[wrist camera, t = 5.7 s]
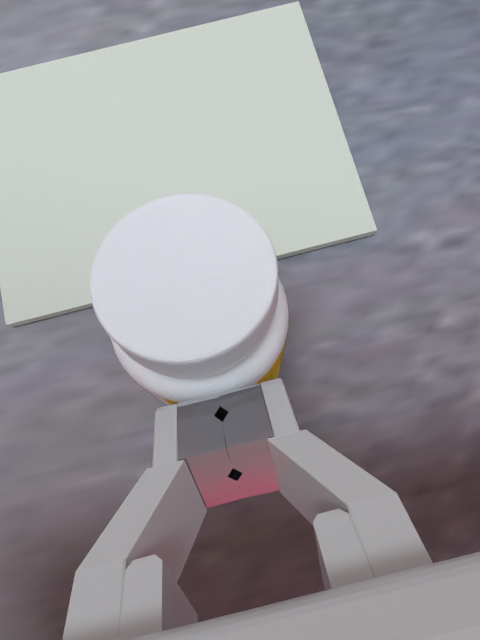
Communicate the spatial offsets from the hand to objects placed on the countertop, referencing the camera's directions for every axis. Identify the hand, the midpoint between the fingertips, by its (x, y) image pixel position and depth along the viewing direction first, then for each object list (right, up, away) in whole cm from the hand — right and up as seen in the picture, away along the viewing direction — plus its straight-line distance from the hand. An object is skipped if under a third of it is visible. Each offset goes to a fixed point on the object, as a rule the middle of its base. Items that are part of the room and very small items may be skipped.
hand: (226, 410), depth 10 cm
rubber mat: (-3, +10, +9) cm, 13 cm away
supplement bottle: (-1, 0, +7) cm, 7 cm away
